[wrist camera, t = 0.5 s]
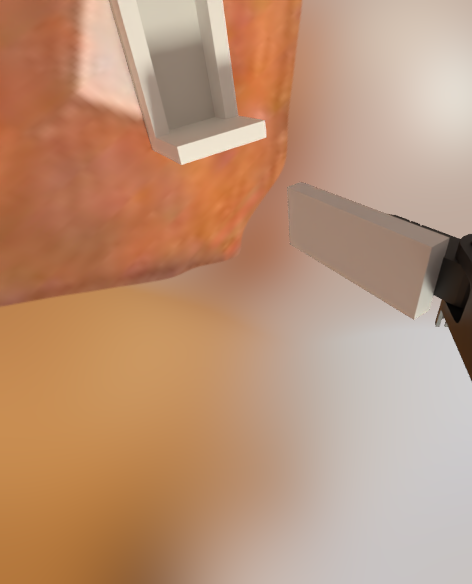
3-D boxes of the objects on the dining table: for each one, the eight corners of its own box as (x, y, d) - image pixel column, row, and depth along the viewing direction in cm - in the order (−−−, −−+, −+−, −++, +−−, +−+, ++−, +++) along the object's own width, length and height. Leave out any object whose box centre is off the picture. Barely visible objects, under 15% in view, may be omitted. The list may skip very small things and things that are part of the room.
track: (55, -186, 23) (72, -277, 17) (178, -181, 25) (229, -258, 20) (152, 149, 36) (181, 164, 30) (226, 127, 38) (266, 137, 33)
